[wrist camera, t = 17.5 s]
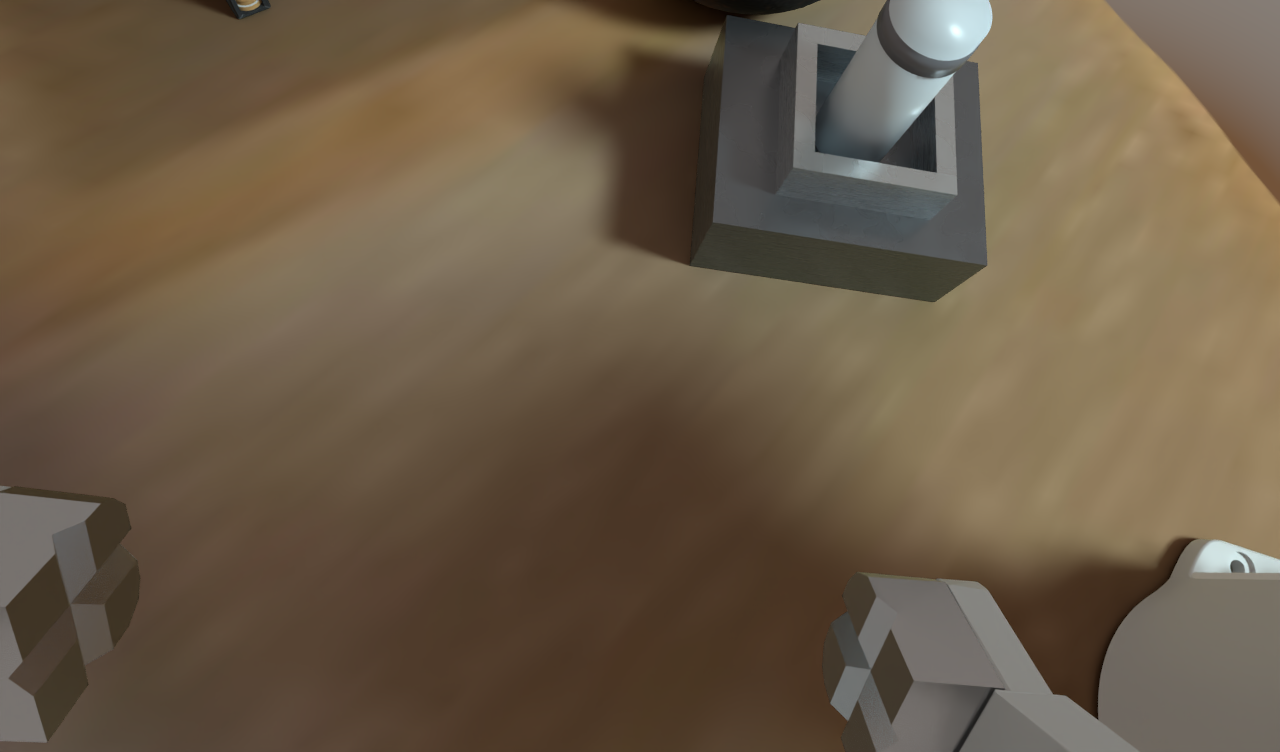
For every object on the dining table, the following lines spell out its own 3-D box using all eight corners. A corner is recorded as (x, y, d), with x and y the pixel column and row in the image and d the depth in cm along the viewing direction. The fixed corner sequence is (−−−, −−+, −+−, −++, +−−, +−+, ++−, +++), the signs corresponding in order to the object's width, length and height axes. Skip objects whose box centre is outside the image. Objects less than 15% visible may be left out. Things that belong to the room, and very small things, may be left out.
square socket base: (929, 118, 46) (1006, 30, 39) (934, 302, 42) (1019, 243, 35) (704, 77, 44) (740, -23, 37) (689, 265, 41) (726, 195, 33)
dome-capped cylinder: (887, 108, 39) (991, -26, 31) (888, 178, 38) (995, 58, 30) (812, 94, 39) (895, -46, 30) (810, 165, 38) (896, 39, 29)
